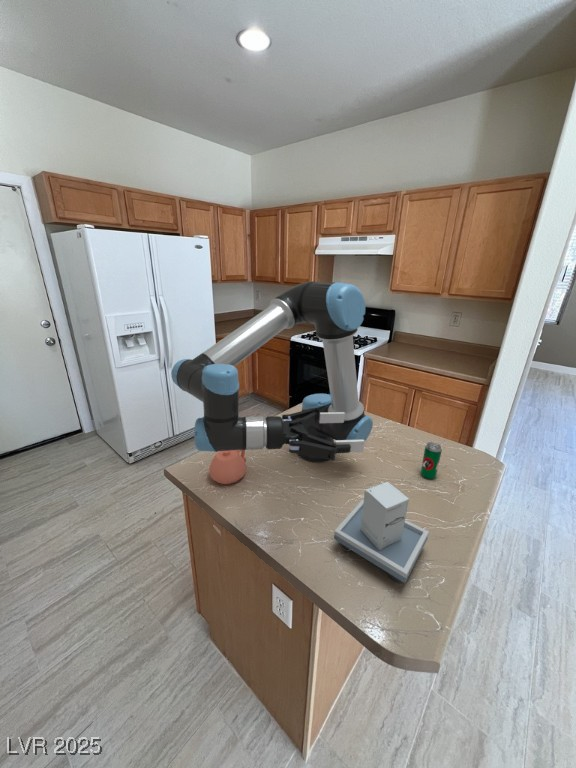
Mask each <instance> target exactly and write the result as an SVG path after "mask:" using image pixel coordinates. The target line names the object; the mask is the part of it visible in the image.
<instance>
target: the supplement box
mask: <svg viewBox="0 0 576 768" xmlns="http://www.w3.org/2000/svg"><path fill="white" fill-rule="evenodd" d="M363 499H364V503H363V511H362V519H361V527H360V530H361V531H362V532H363V533H364V534H365V535H366V536H367V537H368V538H369V540H370V541H371V542H372V543H373V544H374V545H375V546H376V547H377V548H378V549H379V550H381V549H383V548H384V547H386V546H388V545H390V544H392V543H395V542H397V541H399V540H401V539H402V534H403V529H404V523H405V520H406V518H407V512H408V507H409V500H410V499H409V497H408V496H406V495H405V494H404V493H402V492H401V491H400V490H399V489H398V488H396V487H395V486H394V485H392V484H391V483H390V482H389V481H386V482H383V483H380V484H377V485H374V486H371V487H369V488H367V489H365V490H364V496H363Z"/></svg>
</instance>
